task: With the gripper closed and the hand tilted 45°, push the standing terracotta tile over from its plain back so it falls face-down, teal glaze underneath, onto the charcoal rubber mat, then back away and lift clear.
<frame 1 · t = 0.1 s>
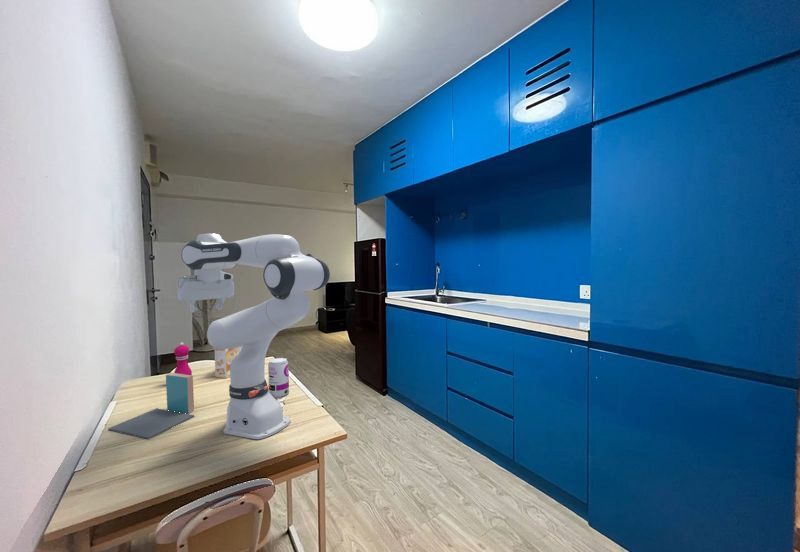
hand: (206, 310, 125), 39 cm above the table, tool pointing down, fingers open, 8 cm apart
mat: (153, 423, 115), on the table
supplement can: (279, 394, 139), on the table
coffeecake box: (231, 373, 168), on the table
tile: (180, 410, 125), on the table
pepper mill: (183, 384, 154), on the table
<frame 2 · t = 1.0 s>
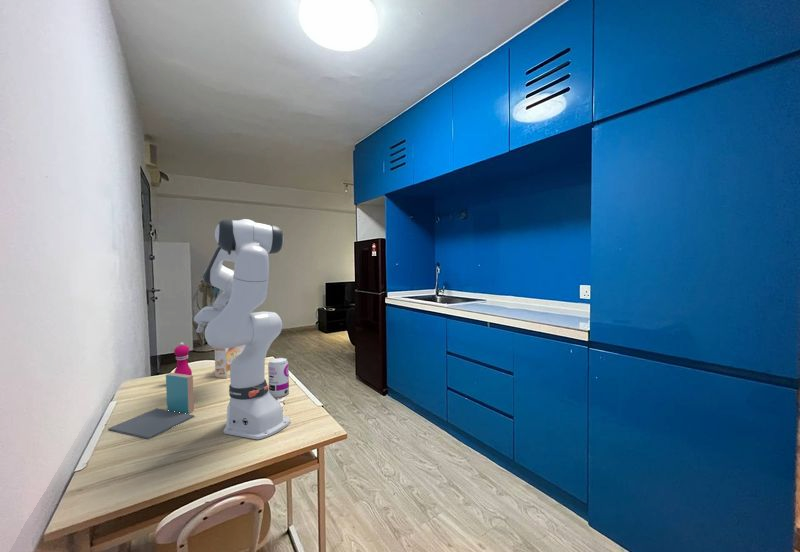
hand: (205, 332, 135), 28 cm above the table, tool tilted 45°, fingers open, 7 cm apart
nothing on the table moved.
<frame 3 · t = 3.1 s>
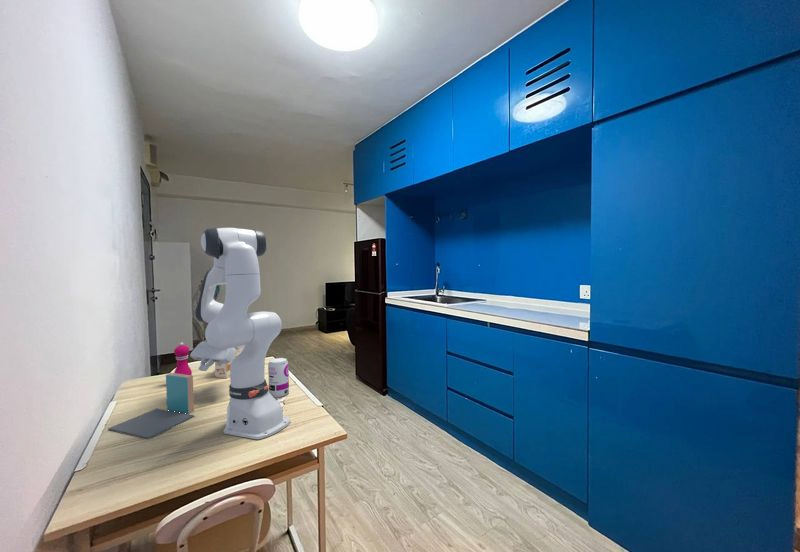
hand: (201, 370, 134), 13 cm above the table, tool tilted 45°, fingers closed
nothing on the table moved.
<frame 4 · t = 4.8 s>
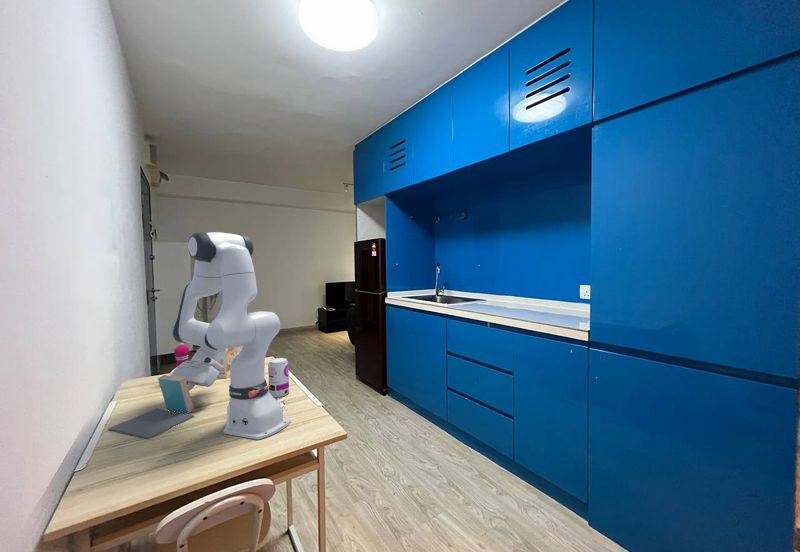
hand: (181, 394, 125), 6 cm above the table, tool tilted 45°, fingers closed
tile: (180, 410, 125), on the table, tilted 13°
everything else where it was.
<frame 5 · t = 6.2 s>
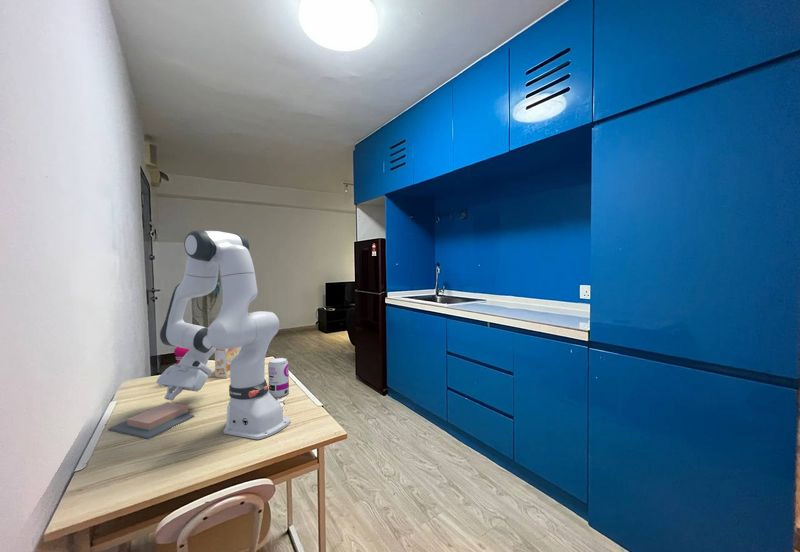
hand: (168, 399, 120), 6 cm above the table, tool tilted 45°, fingers closed
tile: (177, 407, 124), point 2 cm above the table, tilted 90°, touching mat
everything else where it was.
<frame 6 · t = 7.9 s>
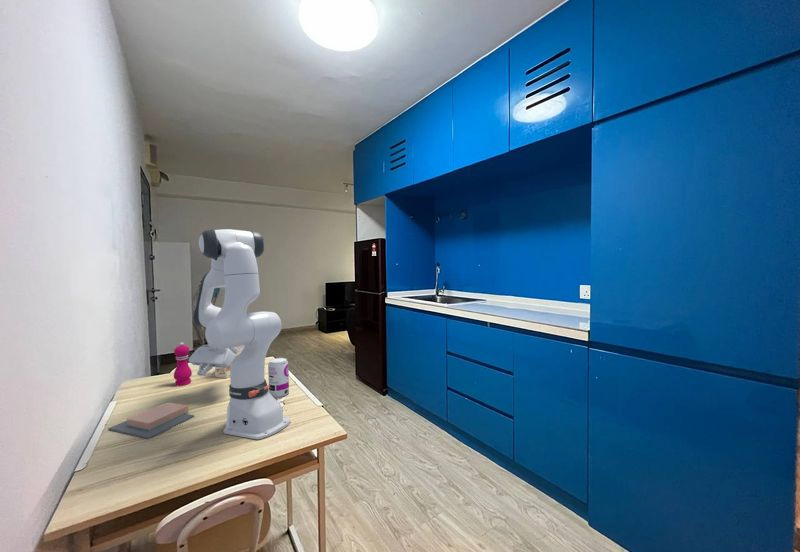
hand: (200, 375, 133), 11 cm above the table, tool tilted 45°, fingers closed
nothing on the table moved.
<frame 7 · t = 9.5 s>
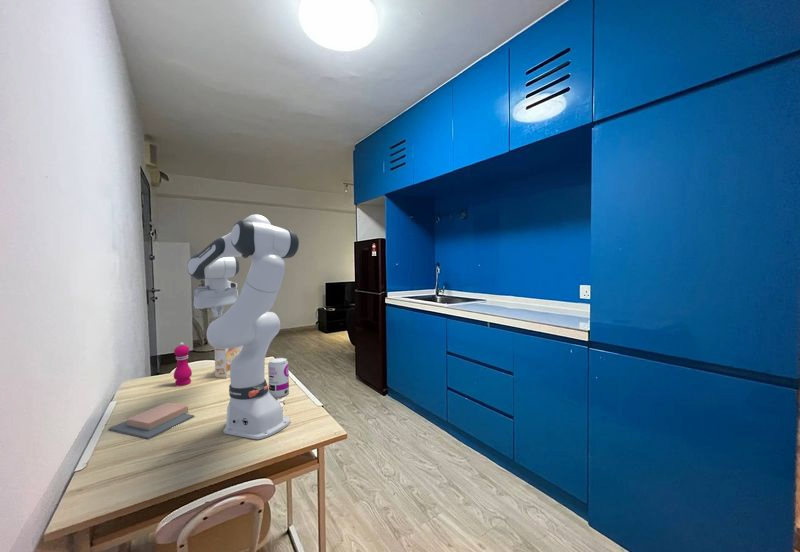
hand: (217, 316, 142), 34 cm above the table, tool pointing down, fingers closed
nothing on the table moved.
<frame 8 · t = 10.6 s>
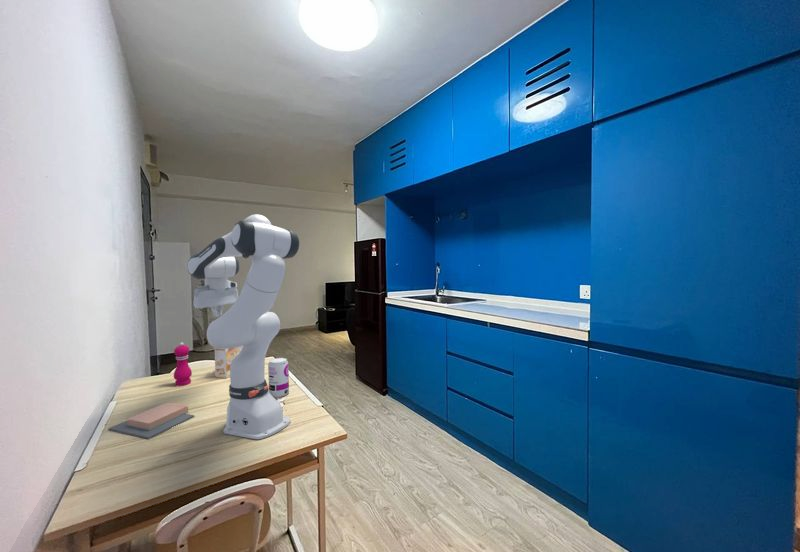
hand: (217, 315, 142), 34 cm above the table, tool pointing down, fingers closed
nothing on the table moved.
at the end: tile tilted 90°; tile touching mat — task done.
